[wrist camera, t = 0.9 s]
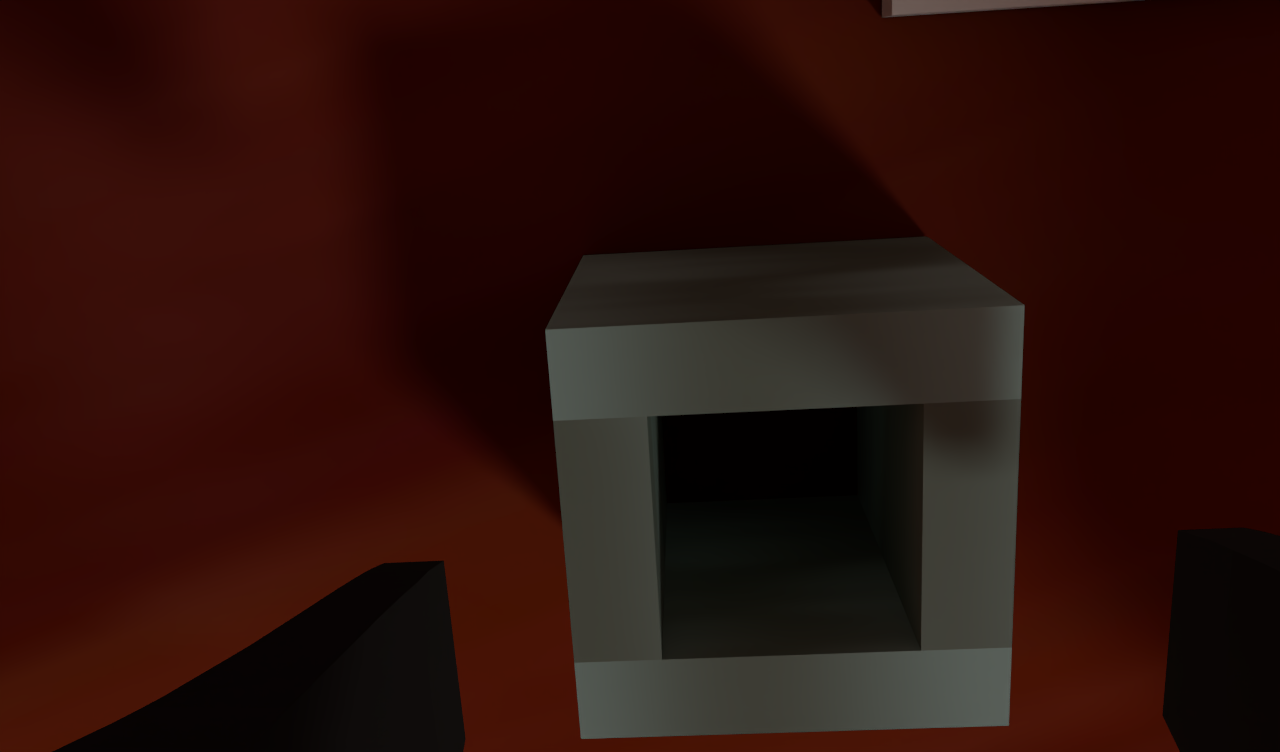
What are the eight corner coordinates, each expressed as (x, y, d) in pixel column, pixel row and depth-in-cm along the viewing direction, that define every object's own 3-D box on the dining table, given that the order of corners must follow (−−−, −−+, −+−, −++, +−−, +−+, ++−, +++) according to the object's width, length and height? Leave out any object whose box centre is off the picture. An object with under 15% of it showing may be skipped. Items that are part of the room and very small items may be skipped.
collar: (926, 236, 17) (1024, 305, 12) (922, 552, 18) (1008, 725, 14) (583, 255, 17) (544, 329, 12) (606, 565, 19) (581, 738, 14)
